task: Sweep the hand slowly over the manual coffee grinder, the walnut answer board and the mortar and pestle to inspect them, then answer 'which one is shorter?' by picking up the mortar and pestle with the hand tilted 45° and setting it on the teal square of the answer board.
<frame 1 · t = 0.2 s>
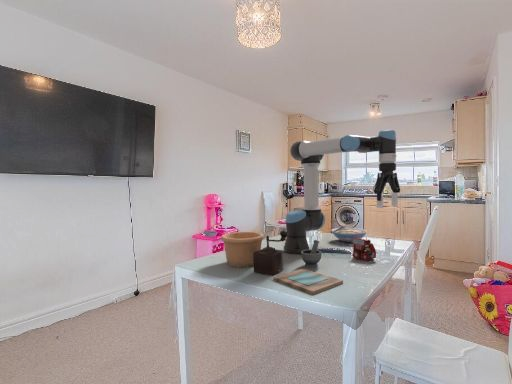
hand: (387, 206, 145), 28 cm above the table, tool pointing down, fingers open, 13 cm apart
toy fire truck: (363, 259, 157), on the table
manual coffee grinder: (272, 270, 141), on the table
answer board: (307, 281, 124), on the table
pottery: (243, 263, 154), on the table
mortar and pestle: (312, 266, 147), on the table
ramen bowl: (349, 241, 201), on the table
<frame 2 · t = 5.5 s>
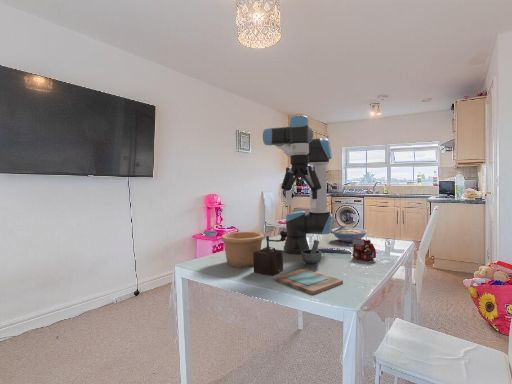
hand: (300, 206, 123), 31 cm above the table, tool pointing down, fingers open, 13 cm apart
nothing on the table moved.
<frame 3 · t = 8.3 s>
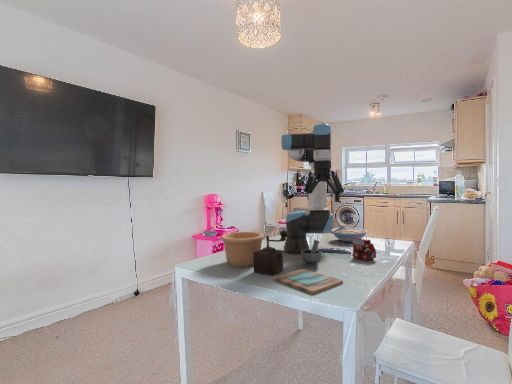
hand: (322, 208, 132), 29 cm above the table, tool pointing down, fingers open, 13 cm apart
nothing on the table moved.
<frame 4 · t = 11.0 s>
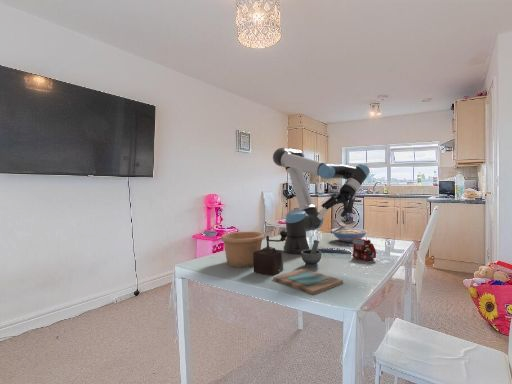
hand: (327, 219, 150), 22 cm above the table, tool tilted 45°, fingers open, 13 cm apart
nothing on the table moved.
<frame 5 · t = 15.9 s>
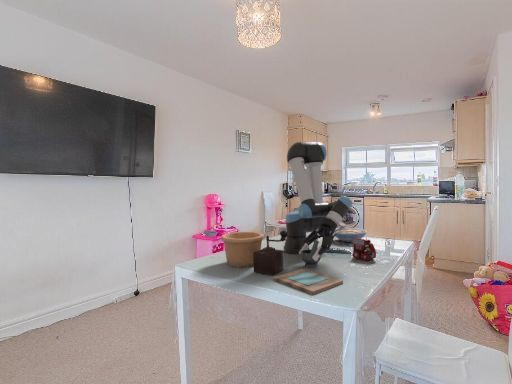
hand: (307, 257, 145), 5 cm above the table, tool tilted 45°, fingers closed on mortar and pestle, 10 cm apart
mortar and pestle: (311, 265, 147), on the table, touching gripper
everything else where it was.
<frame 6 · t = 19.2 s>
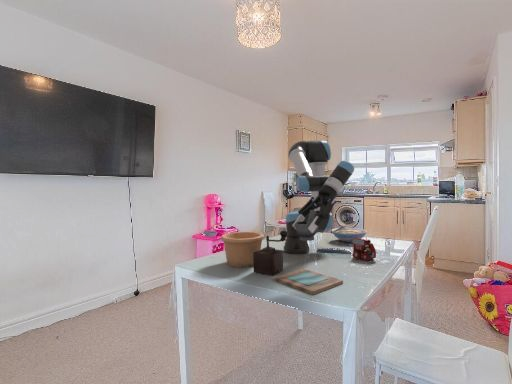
hand: (302, 229, 124), 22 cm above the table, tool tilted 45°, fingers closed on mortar and pestle, 10 cm apart
mortar and pestle: (307, 239, 126), point 17 cm above the table, touching gripper
everything else where it was.
when the fingers open (7 cm above the table, at t = 22.6 s): mortar and pestle drops 1 cm, resting on answer board.
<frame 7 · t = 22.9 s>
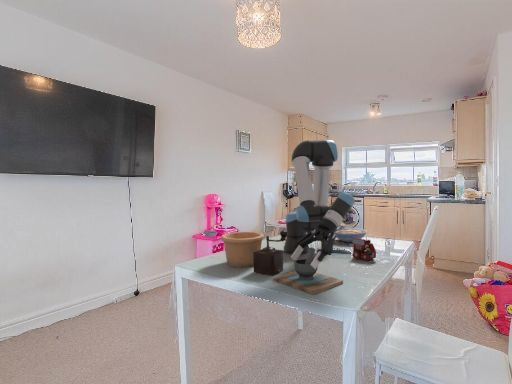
hand: (302, 263, 122), 8 cm above the table, tool tilted 45°, fingers open, 13 cm apart
mortar and pestle: (307, 278, 124), point 1 cm above the table, touching answer board
everything else where it was.
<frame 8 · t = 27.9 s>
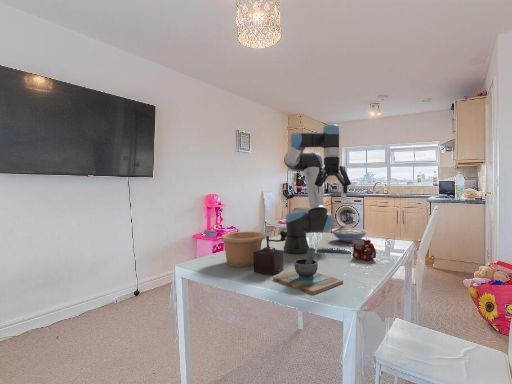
hand: (332, 199, 149), 32 cm above the table, tool pointing down, fingers open, 13 cm apart
nothing on the table moved.
at the end: mortar and pestle inside the target area (0.3 cm from its centre), point 1.2 cm above the table; mortar and pestle tilted 0°; the gripper is holding nothing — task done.
